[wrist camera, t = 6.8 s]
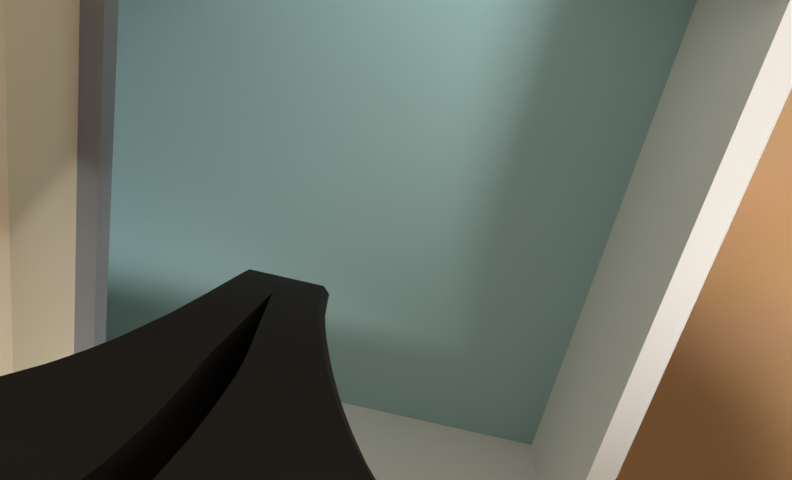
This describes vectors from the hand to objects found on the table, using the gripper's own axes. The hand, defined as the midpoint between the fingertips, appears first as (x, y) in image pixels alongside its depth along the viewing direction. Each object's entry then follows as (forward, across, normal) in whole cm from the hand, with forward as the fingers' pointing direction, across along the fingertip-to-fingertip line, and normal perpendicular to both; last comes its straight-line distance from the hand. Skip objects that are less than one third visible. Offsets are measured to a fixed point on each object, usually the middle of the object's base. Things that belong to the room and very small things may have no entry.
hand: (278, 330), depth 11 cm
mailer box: (+8, +2, 0) cm, 8 cm away
